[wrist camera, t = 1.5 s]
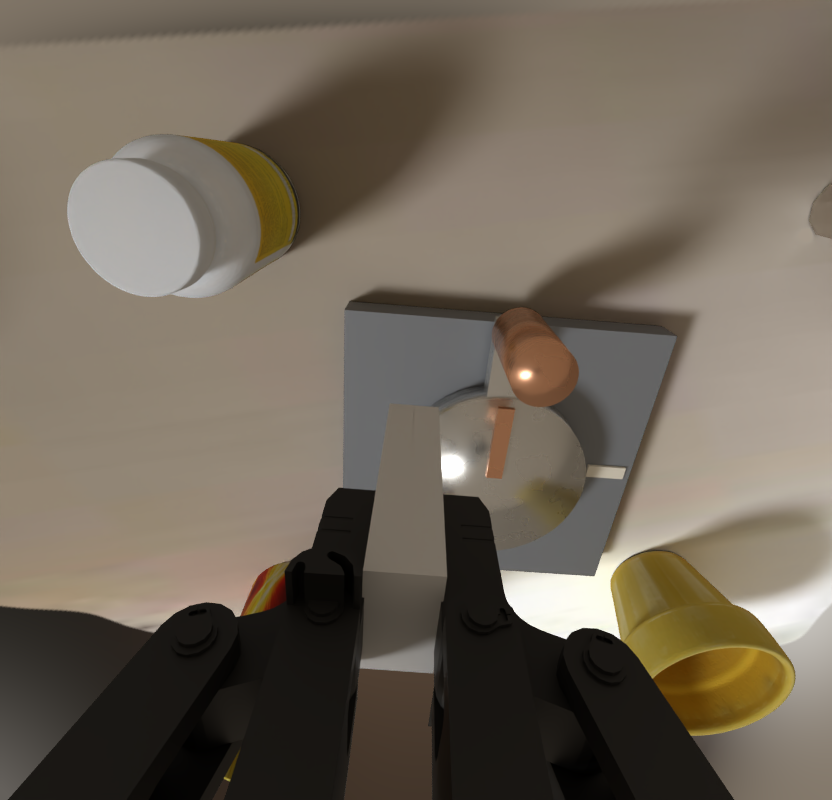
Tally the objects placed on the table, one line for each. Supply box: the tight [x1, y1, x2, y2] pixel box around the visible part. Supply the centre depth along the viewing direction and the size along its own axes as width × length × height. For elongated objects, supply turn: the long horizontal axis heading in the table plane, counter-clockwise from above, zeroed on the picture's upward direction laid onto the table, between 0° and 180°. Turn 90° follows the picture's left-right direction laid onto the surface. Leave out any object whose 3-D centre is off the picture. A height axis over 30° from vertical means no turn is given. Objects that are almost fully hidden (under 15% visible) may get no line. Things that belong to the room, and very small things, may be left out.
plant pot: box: [611, 551, 795, 736], centre depth 35 cm, size 10×10×10 cm
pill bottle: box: [67, 134, 300, 298], centre depth 21 cm, size 6×6×12 cm
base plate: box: [343, 301, 677, 576], centre depth 33 cm, size 20×20×2 cm
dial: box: [431, 307, 586, 550], centre depth 27 cm, size 18×12×8 cm
